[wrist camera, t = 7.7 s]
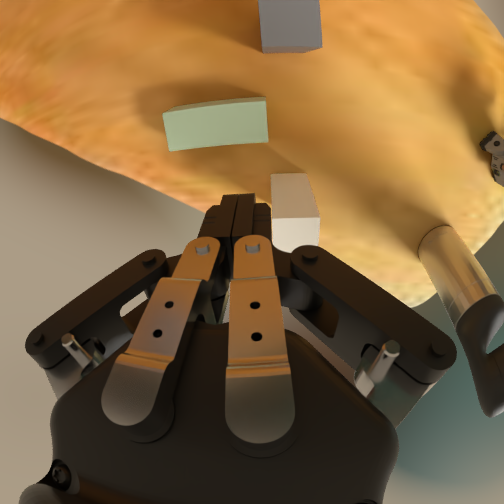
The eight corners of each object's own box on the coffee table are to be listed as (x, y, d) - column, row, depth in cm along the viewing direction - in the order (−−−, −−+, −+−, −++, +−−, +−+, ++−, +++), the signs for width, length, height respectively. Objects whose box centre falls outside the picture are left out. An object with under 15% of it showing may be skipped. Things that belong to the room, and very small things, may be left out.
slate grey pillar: (301, 18, 24) (318, -3, 15) (303, 52, 27) (322, 47, 18) (260, 18, 24) (257, -4, 15) (262, 53, 27) (261, 46, 18)
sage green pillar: (265, 101, 27) (162, 113, 28) (268, 142, 30) (169, 151, 31) (265, 96, 31) (174, 106, 32) (267, 132, 34) (180, 140, 35)
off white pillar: (306, 173, 38) (320, 217, 28) (305, 203, 41) (317, 255, 31) (270, 173, 38) (272, 218, 29) (271, 204, 41) (273, 256, 32)
